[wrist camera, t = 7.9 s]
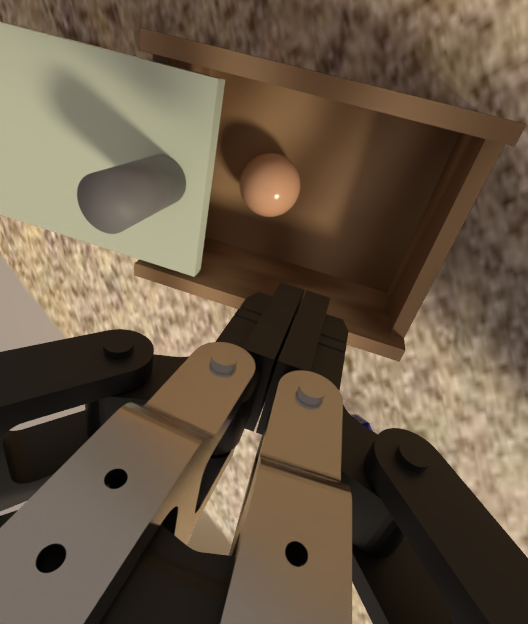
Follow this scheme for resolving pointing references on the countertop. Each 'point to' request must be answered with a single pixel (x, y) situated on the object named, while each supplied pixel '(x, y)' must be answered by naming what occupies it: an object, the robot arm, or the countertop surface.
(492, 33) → the countertop surface
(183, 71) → the cover plate
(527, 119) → the countertop surface
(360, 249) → the walnut box
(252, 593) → the robot arm
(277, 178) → the clay ball
